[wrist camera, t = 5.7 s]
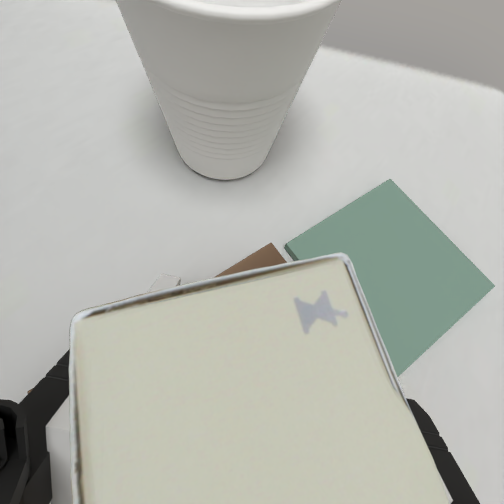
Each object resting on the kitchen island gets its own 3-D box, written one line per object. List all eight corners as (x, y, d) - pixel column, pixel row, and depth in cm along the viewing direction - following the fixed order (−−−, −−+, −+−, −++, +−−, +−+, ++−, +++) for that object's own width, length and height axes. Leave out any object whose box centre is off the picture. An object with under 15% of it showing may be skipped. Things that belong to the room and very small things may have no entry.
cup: (206, 237, 18) (193, 54, 8) (119, 129, 21) (26, -114, 10) (323, 162, 21) (418, -35, 11) (236, 77, 24) (250, -148, 14)
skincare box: (173, 356, 15) (55, 286, 4) (256, 335, 16) (345, 227, 5) (198, 510, 13) (82, 1296, 2) (294, 476, 14) (615, 870, 3)
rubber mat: (284, 247, 18) (286, 243, 18) (385, 183, 21) (390, 178, 21) (387, 380, 16) (393, 380, 15) (486, 289, 19) (495, 286, 18)
